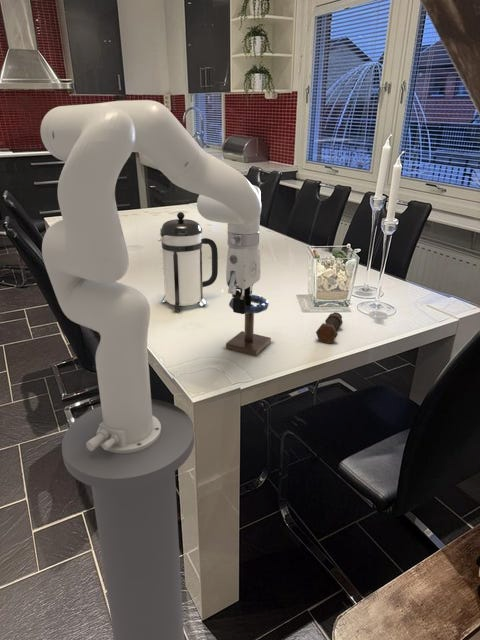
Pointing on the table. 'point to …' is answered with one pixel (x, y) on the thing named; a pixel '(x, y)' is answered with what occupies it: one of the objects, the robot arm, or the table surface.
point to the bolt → (329, 328)
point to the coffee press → (185, 262)
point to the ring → (255, 308)
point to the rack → (248, 339)
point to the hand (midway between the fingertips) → (242, 310)
